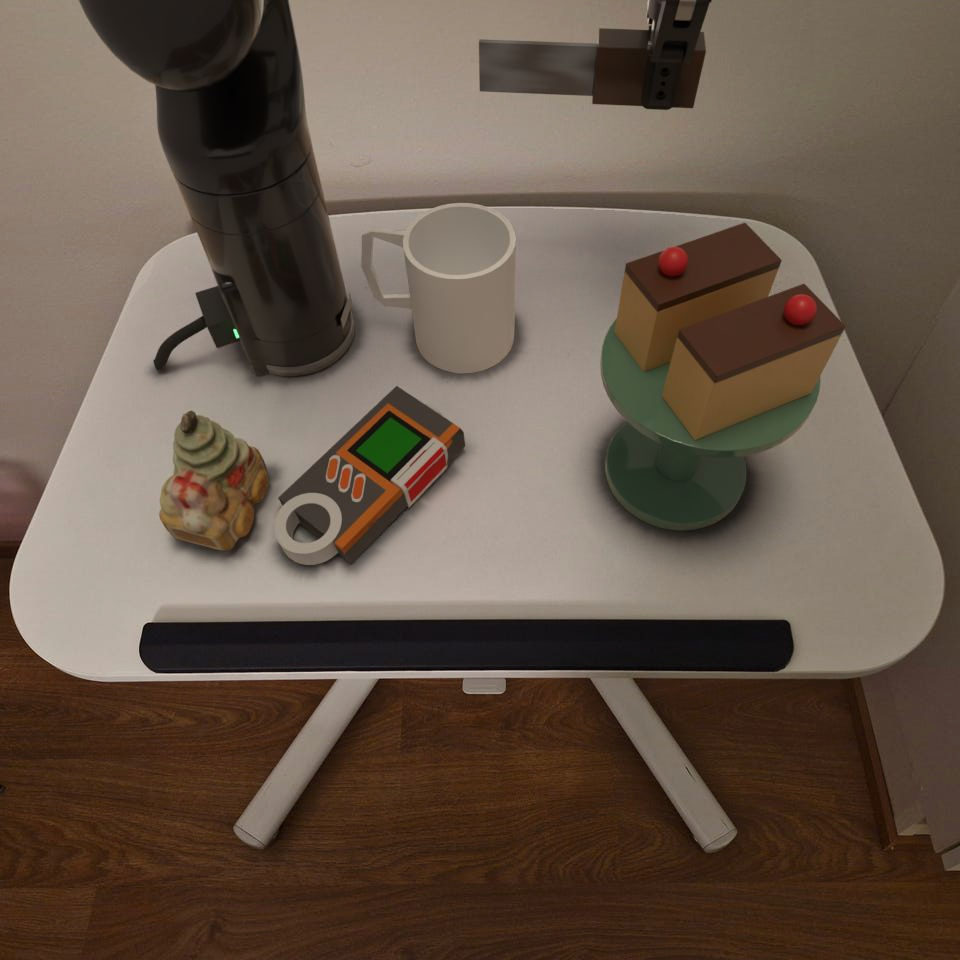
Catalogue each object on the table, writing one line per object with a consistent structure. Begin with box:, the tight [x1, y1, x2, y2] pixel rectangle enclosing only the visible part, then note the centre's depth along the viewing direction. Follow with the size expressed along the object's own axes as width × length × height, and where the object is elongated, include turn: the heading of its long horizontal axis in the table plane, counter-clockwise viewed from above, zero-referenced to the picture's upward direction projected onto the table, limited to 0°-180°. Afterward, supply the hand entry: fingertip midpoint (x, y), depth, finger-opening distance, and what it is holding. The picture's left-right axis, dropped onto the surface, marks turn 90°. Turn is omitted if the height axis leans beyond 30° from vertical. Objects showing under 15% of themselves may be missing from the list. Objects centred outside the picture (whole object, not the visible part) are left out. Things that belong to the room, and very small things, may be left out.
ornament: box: [158, 410, 270, 552], centre depth 52 cm, size 8×6×10 cm
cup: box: [360, 202, 517, 374], centre depth 61 cm, size 8×12×10 cm
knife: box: [478, 27, 707, 109], centre depth 54 cm, size 15×2×4 cm, turn 84°
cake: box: [614, 222, 846, 440], centre depth 44 cm, size 8×9×7 cm
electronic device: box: [273, 385, 466, 566], centre depth 56 cm, size 7×3×15 cm
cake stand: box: [599, 317, 822, 531], centre depth 52 cm, size 13×13×12 cm
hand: (656, 93), depth 55 cm, fingers closed on knife, 2 cm apart
